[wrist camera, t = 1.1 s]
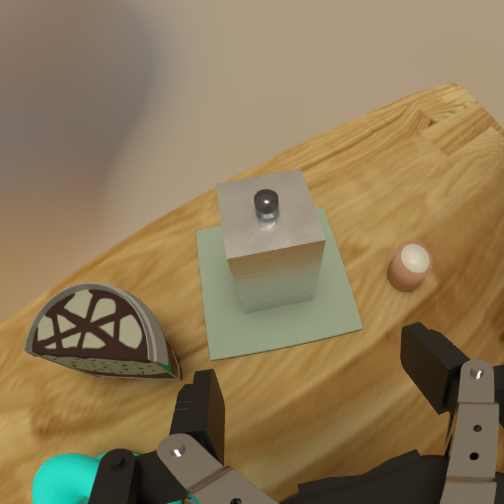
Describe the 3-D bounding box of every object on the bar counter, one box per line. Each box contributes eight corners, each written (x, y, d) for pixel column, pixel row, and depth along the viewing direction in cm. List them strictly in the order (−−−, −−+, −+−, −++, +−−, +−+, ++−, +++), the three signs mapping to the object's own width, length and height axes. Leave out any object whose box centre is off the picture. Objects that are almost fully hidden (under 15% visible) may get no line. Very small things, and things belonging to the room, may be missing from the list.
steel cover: (297, 242, 32) (300, 157, 22) (313, 299, 29) (327, 229, 19) (235, 254, 32) (212, 173, 22) (245, 313, 29) (223, 249, 19)
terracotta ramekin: (406, 252, 31) (417, 234, 28) (426, 281, 29) (440, 265, 26) (380, 268, 30) (389, 250, 27) (400, 298, 29) (412, 283, 26)
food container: (198, 316, 30) (162, 269, 21) (197, 380, 27) (157, 359, 18) (89, 319, 31) (32, 279, 22) (84, 375, 27) (19, 350, 19)
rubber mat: (322, 208, 35) (322, 206, 34) (362, 329, 28) (363, 328, 27) (196, 232, 35) (196, 230, 34) (211, 360, 28) (210, 360, 27)
